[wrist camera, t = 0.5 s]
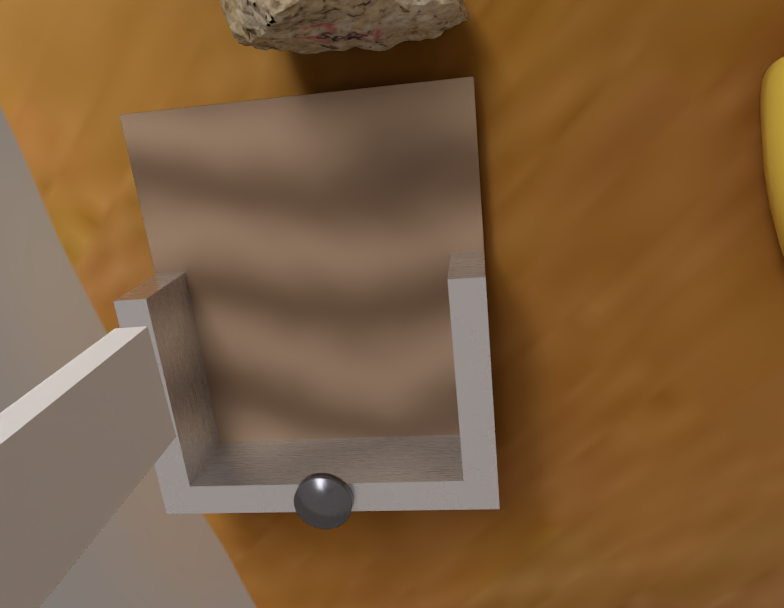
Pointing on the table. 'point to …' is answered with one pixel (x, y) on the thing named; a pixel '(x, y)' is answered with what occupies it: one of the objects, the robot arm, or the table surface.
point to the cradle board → (318, 252)
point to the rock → (339, 23)
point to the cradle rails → (320, 456)
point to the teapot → (774, 142)
